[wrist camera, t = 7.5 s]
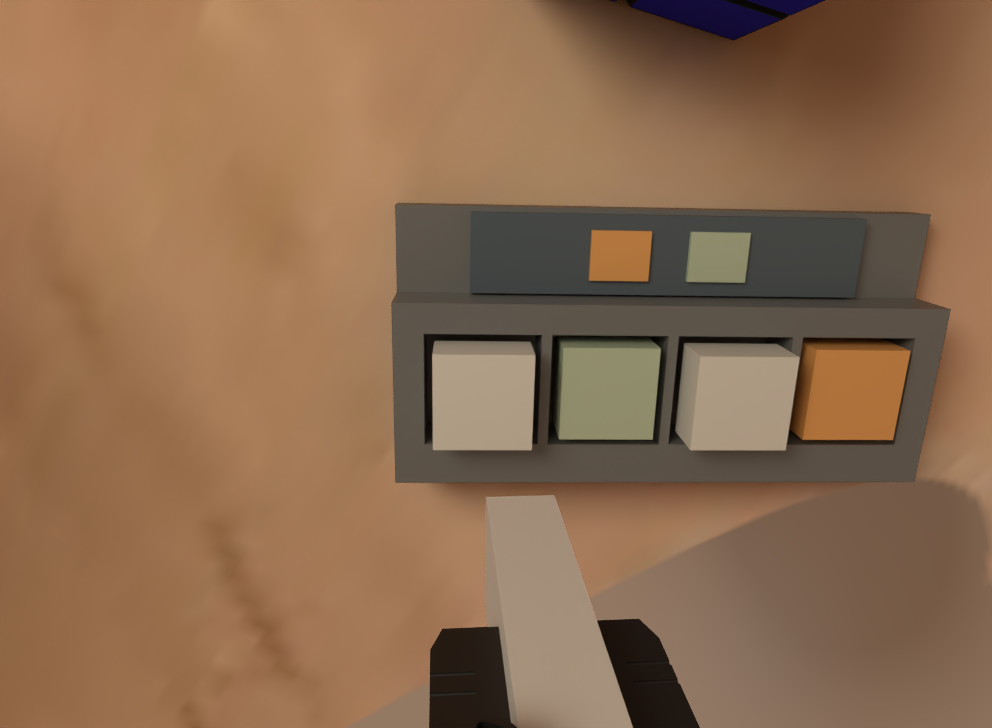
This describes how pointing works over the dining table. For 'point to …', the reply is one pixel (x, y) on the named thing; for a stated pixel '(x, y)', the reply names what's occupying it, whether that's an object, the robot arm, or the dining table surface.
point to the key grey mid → (736, 396)
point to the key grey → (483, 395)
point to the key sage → (605, 387)
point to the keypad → (656, 324)
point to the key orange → (848, 389)
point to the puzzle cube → (724, 13)
